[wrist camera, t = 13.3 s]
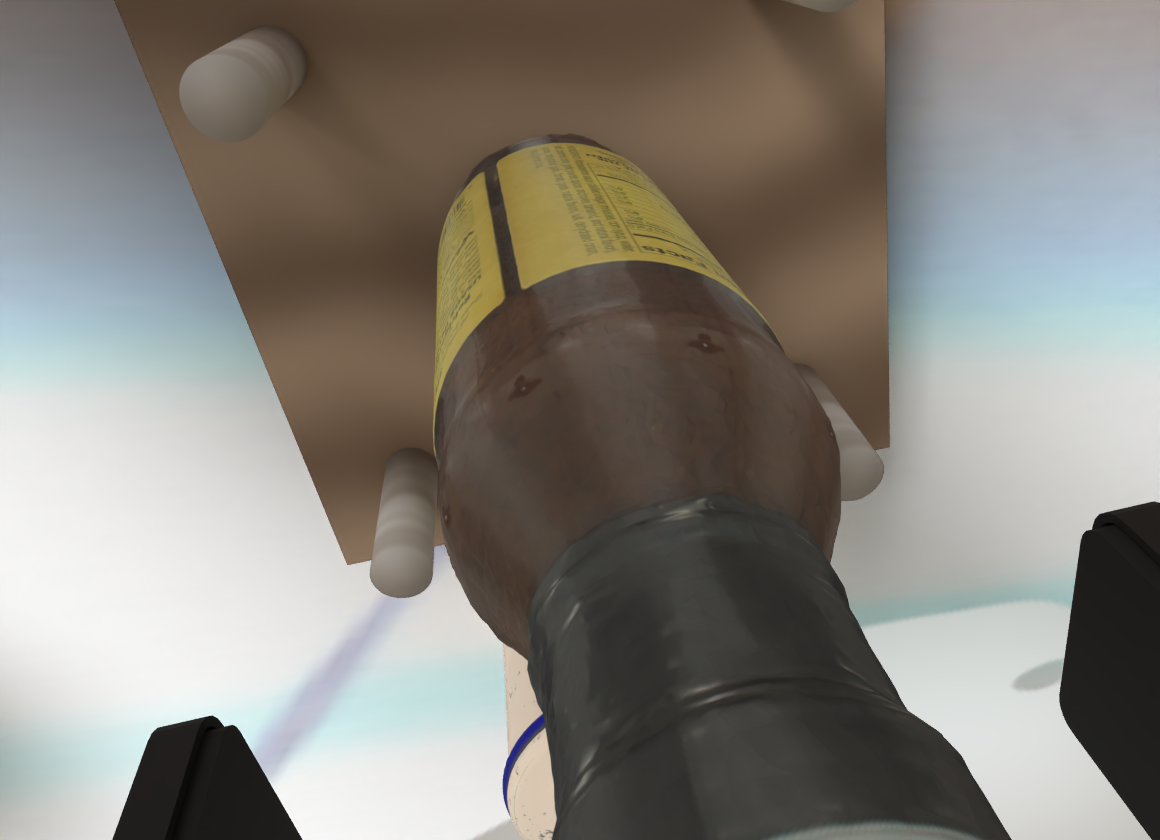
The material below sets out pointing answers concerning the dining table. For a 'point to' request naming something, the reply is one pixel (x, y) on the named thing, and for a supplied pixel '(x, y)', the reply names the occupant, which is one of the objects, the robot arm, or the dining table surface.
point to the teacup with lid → (526, 755)
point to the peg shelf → (481, 127)
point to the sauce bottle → (660, 525)
